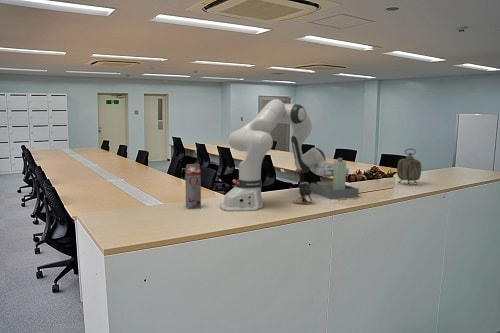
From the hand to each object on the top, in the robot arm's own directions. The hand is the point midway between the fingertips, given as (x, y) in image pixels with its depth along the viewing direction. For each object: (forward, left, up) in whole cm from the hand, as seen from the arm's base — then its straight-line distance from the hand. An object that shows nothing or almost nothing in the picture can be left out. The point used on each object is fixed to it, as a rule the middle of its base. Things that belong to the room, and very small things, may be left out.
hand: (338, 173), depth 223 cm
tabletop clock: (+70, +24, -14) cm, 75 cm away
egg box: (0, +11, -13) cm, 17 cm away
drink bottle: (0, -1, -13) cm, 13 cm away
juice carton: (-84, -1, -14) cm, 85 cm away
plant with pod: (-26, -8, -14) cm, 31 cm away
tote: (0, +5, -14) cm, 15 cm away
